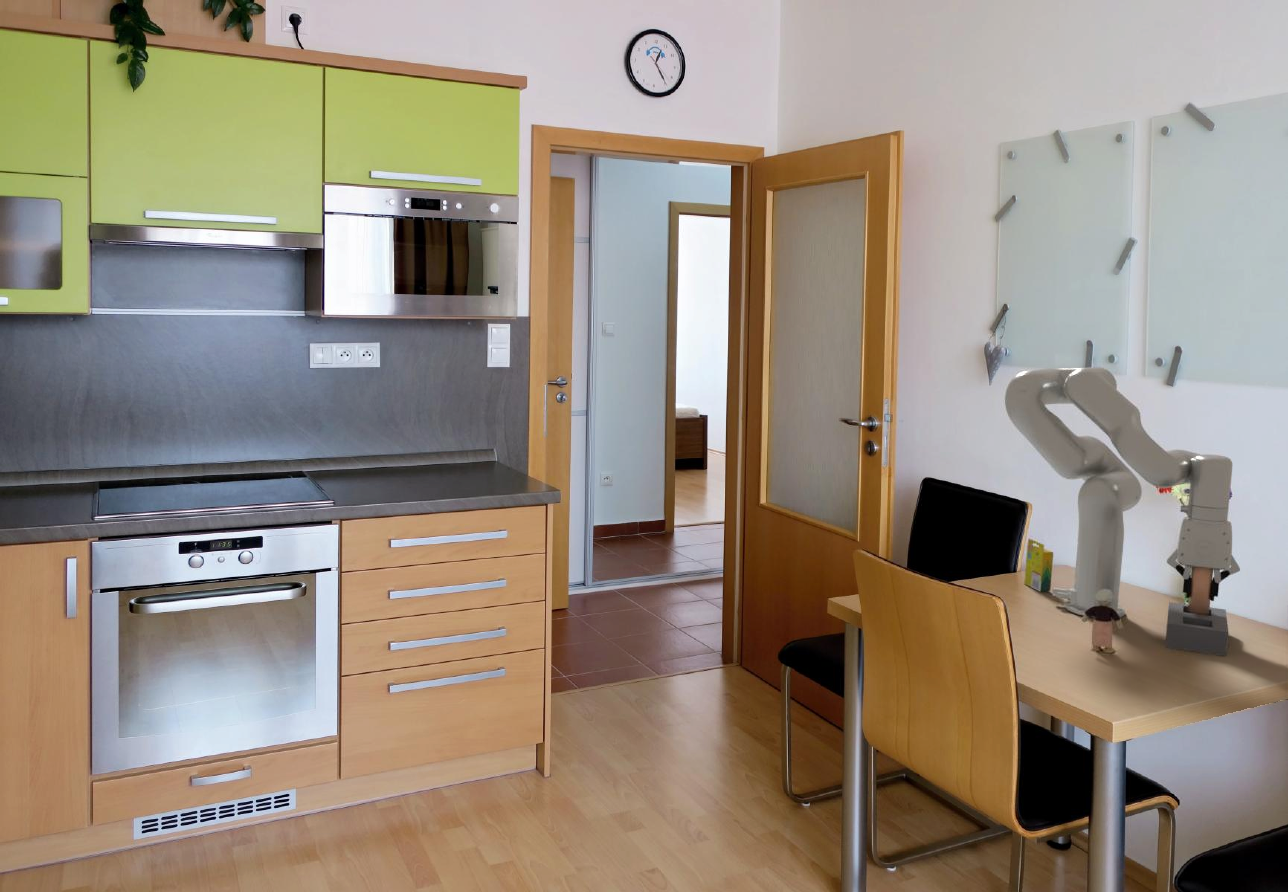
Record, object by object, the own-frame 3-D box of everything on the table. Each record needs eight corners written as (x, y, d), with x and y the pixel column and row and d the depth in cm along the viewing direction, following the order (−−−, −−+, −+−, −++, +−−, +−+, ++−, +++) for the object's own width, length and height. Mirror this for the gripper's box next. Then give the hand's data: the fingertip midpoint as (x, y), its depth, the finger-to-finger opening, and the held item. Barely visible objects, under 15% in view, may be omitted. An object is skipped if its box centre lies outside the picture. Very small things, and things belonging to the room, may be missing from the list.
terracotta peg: (1188, 612, 232) (1192, 562, 230) (1188, 608, 235) (1192, 558, 234) (1209, 615, 230) (1214, 564, 228) (1208, 610, 233) (1213, 560, 232)
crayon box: (1050, 591, 263) (1054, 544, 262) (1039, 592, 263) (1043, 545, 261) (1034, 583, 270) (1038, 537, 269) (1023, 583, 270) (1027, 538, 268)
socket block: (1165, 646, 224) (1167, 623, 223) (1166, 623, 240) (1169, 601, 239) (1225, 656, 219) (1228, 632, 218) (1223, 631, 235) (1225, 609, 234)
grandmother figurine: (1119, 649, 222) (1124, 588, 220) (1120, 654, 218) (1126, 593, 216) (1078, 644, 224) (1083, 584, 222) (1079, 649, 220) (1084, 589, 219)
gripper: (1163, 512, 230) (1156, 596, 232) (1253, 521, 223) (1245, 607, 225) (1164, 506, 237) (1157, 588, 239) (1251, 514, 229) (1243, 599, 232)
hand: (1199, 597), depth 232 cm, fingers closed on terracotta peg, 4 cm apart
